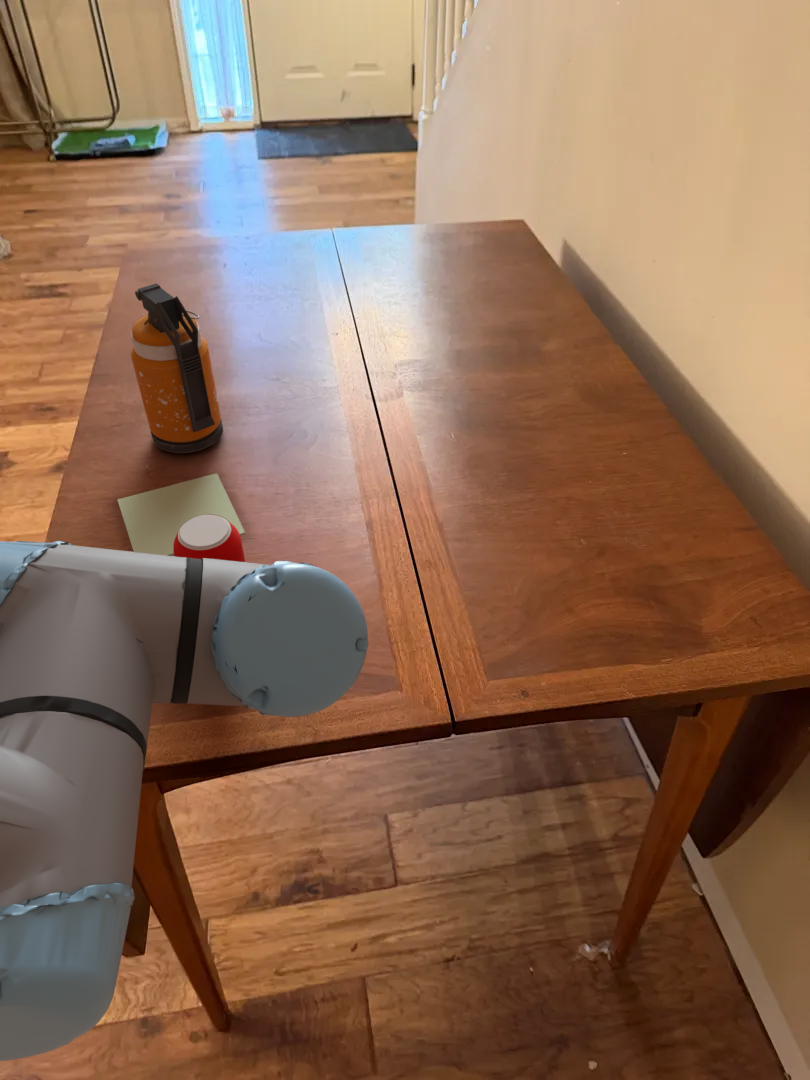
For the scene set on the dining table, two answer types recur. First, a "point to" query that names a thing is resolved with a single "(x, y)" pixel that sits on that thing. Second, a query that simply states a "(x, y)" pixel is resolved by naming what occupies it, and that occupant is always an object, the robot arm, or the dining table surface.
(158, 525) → the felt mat
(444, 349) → the dining table surface
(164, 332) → the canister
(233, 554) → the beverage can
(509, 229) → the dining table surface
